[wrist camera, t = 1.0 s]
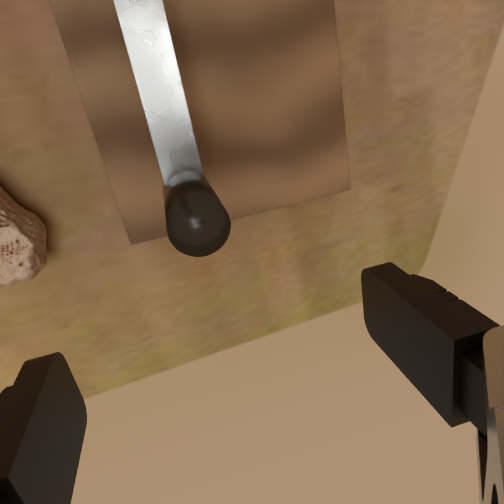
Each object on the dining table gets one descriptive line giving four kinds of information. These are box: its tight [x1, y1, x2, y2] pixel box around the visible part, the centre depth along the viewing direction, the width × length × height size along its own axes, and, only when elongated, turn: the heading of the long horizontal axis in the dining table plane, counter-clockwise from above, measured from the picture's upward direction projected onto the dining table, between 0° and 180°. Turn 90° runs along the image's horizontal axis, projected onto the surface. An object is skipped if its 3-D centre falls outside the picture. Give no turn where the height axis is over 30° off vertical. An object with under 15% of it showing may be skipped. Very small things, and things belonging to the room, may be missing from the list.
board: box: [49, 0, 350, 245], centre depth 25 cm, size 26×18×6 cm
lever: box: [114, 0, 231, 257], centre depth 19 cm, size 19×4×8 cm, turn 11°
